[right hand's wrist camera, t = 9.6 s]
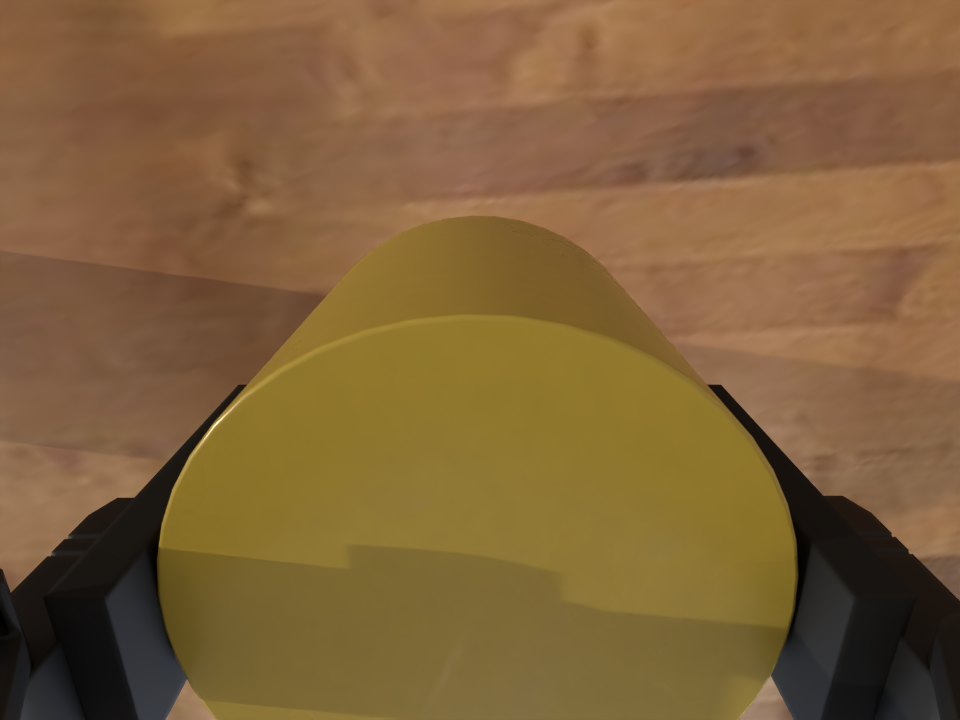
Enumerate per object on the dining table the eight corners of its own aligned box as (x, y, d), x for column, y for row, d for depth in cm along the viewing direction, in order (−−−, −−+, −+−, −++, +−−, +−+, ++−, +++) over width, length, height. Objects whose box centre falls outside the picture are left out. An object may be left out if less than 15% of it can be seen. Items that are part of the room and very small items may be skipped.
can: (691, 460, 17) (863, 731, 10) (405, 568, 19) (351, 883, 11) (574, 150, 14) (686, 182, 7) (243, 306, 16) (13, 484, 8)
